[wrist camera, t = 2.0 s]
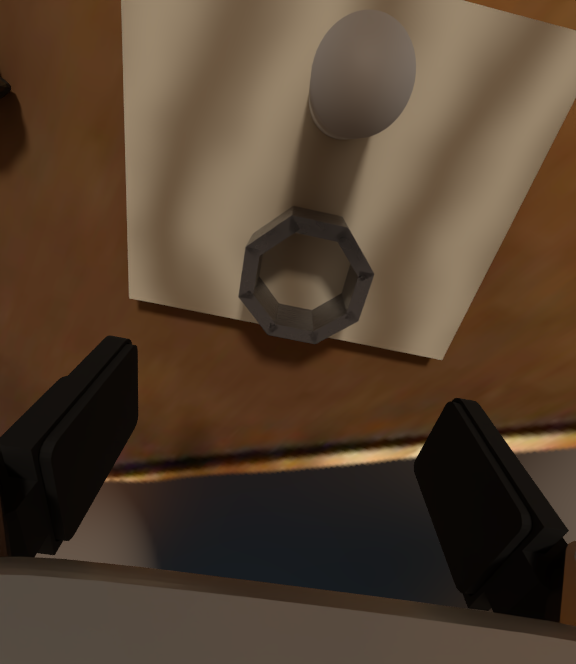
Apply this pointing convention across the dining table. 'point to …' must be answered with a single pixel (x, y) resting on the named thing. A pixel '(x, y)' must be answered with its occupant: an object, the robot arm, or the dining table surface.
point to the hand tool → (4, 87)
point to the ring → (294, 319)
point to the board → (334, 150)
